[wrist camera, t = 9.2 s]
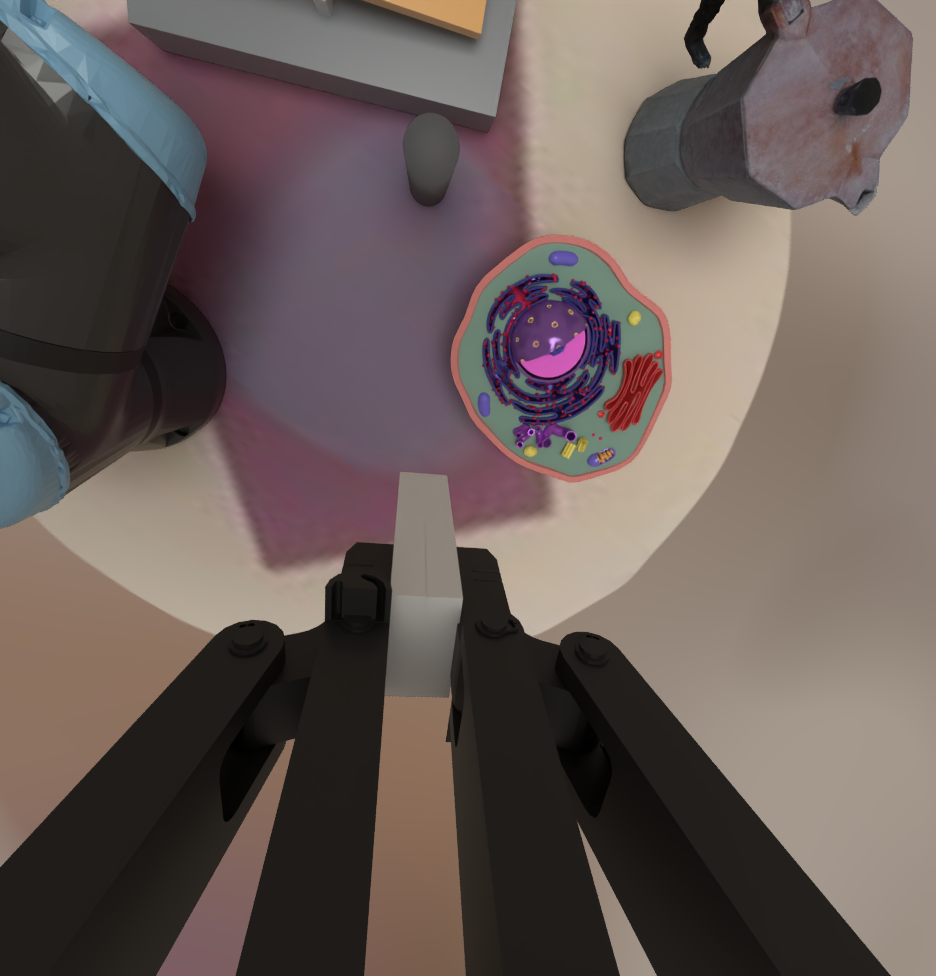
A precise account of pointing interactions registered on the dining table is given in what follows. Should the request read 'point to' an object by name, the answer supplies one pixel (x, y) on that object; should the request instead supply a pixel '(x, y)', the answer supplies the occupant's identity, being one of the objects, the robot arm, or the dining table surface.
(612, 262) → the cell model
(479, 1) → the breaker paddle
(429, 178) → the post
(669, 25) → the dining table surface
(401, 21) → the block
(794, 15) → the moka pot
